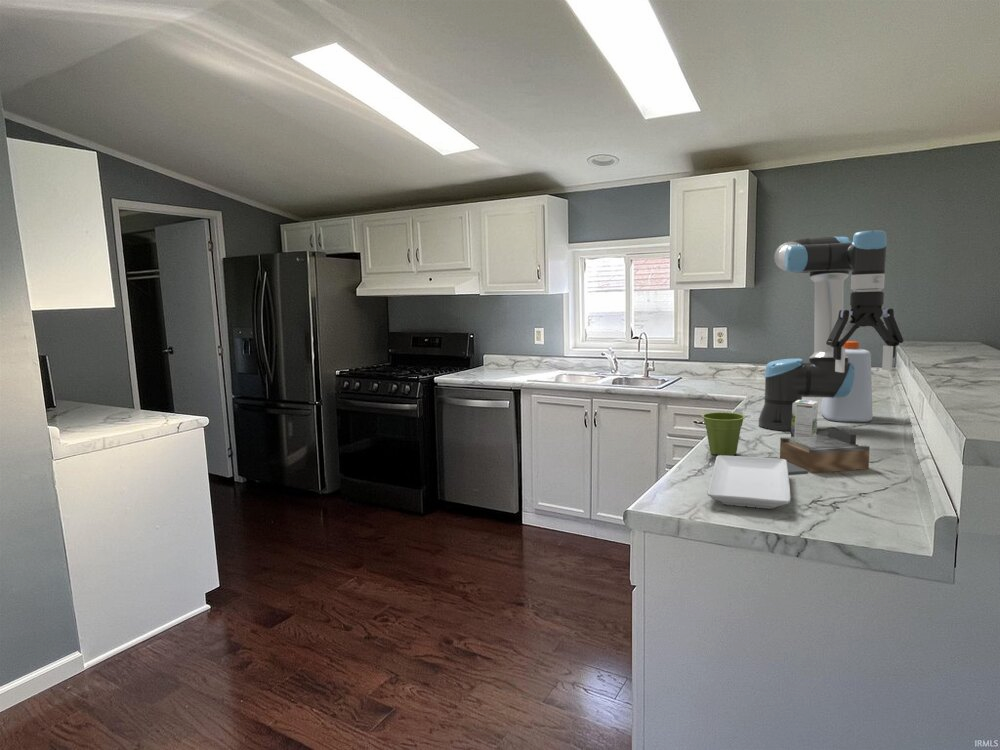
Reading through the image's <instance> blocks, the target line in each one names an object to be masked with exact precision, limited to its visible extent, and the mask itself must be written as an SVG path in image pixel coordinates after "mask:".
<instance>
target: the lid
mask: <svg viewBox="0 0 1000 750" xmlns="http://www.w3.org/2000/svg"><path fill="white" fill-rule="evenodd" d="M827 435H828V436H819V435H816V436H814V437H797V438H787V443H790V444H792V445H795V446H797V447H800V448H803V449H805V450H808V451H809V449H816V448H833V447H849V446H859V444H857V434H856V433H853V432H851V431H847V430H844V429H840V428H837V427H835V426H831V427H827Z"/></svg>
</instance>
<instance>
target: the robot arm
mask: <svg viewBox="0 0 1000 750" xmlns="http://www.w3.org/2000/svg"><path fill="white" fill-rule="evenodd" d="M852 239H853V240H851V239H850V238H849V237H847V236H836V235H834V236H823V237H822V236H821V237H808V238H806V237H805V238H796V239H792V240H789V241H785V242H784V243H781V244H780V245H779V246H778V247H777V248H776V249H775V251H774V253H773V262H774V264H775V266H776V267H777V268H778V269H779V270H781V271H784V272H789V273H794V274H795V273H796V274H806V273H807V274H809V280H811V281H812V282H814V322H813V323H814V324H813V325H814V332H813V333H814V335H813V337H814V339H813V341H814V343H813V344H814V345H813V347H814V348H813V350H814V352H813V353H812V355H810V356H809V358H808V359H809V360H808V362H804V359H803V358H798V357H797V358H784V359H783V358H782V359H777V360H772V361H769V362H768V363H767V364H766V366H765V371H764V373H765V374H764V377H765V379H764V380H765V381H764V382H765V383H764V405H763V407H762V409H761V412H760V415H759V417H758V424H759V425H760V426H762V427H761V428H763V427H764V429H767V428H768V429H767V430H772V429H773V430H774V431H785V432H789V431H790V432H791V424H792V405H793V403H794V402H795V401H797V400H803V398H822V397H828V398H834V397H846V396H847V395H848V394H849V393H850V391H851V389H852V386H853V382H854V376H855V370H854V368H855V367H854V365H853V364H852V363H848V357H847V356H846V355H845V348H843V345H844V344H845V343H846V342H847V341H849V339H850V338H851V336H853V334H854V333H855V332H856V331H857V329H859V328H861V327H872V328H874V330H875V331H876V333H877V334H878V335H879V336H880V337H881V339H882V341H883V342H884V343H885V344H886V345H883V346H882V361H881V363H882V364H881V371H882V370H883V371H888V372H889V371H892V372H893V359H894V358H895V356H896V347H898V346H900V344H903V343H904V338H903V336H902V334H901V331H900V329H899V328H900V327H899V326H898V324H897V322H896V319H895V314H894V312H895V311H894V310H895V309H893V308H883V307H882V306H883V305H884V298H885V292H884V291H882V290H883V289H885V281H886V279H885V276H886V274H885V273H886V262H887V261H886V260H887V259H886V257H887V254H886V253H887V246H888V242H887V232H886V231H884V230H880V229H879V230H877V229H876V230H875V229H874V230H863V231H857V232H855V233H854V234H853V237H852ZM850 272H851V277H850V278H851V279H850V290H851V291H853V292H851V293H850V295H849V297H850V298H849V299H850V301H849V302H850V303H849V305H850V306H851V307H850V308H851V309H850V310H848V309H844V295H845V293H844V292H845V291H844V284H845V283H844V282H845V280H846V279H847V278H848V277H849V276H850ZM882 308H883V309H882ZM881 318H883V320H882V319H881ZM849 319H850V321H849ZM759 425H758V426H759ZM760 426H759V427H760Z"/></svg>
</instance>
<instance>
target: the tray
mask: <svg viewBox="0 0 1000 750" xmlns="http://www.w3.org/2000/svg"><path fill="white" fill-rule="evenodd" d="M711 473H712V474H711V478H710V482H709V484H708V485H709V486H708V488H707V491H706V494H707V497H709V498H711V499H714V500H715V501H719V502H721V504H723V505H725V504H726V505H727V506H734V505H735V507H737V506H738V507H745V506H747V507H749V508H755V507H756V508H757V509H766V510H768V509H769V510H774V509H775V508H777V507H781V506H784V505H787V504H789V503H790V502H791V499H792V498H791V496H792V495H791V486H790V485H791V484H790V476H789V475H790V474H788V468H787V461H786V460H785V459H775V458H765V457H758V456H755V457H754V456H739V455H736V456H735V455H732V456H720V455H717V456H716V458H715V461H714V465H713V468H712V472H711ZM747 507H746V508H747Z"/></svg>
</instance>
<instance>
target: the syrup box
mask: <svg viewBox="0 0 1000 750" xmlns="http://www.w3.org/2000/svg"><path fill="white" fill-rule="evenodd" d="M818 408H819V402H818V401H815V400H810V399H802V400H797V401H795V402H794V403H793V405H792V424H791V431H790V437H802V436H817V431H818V427H817V426H818V413H819V411H818Z"/></svg>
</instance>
